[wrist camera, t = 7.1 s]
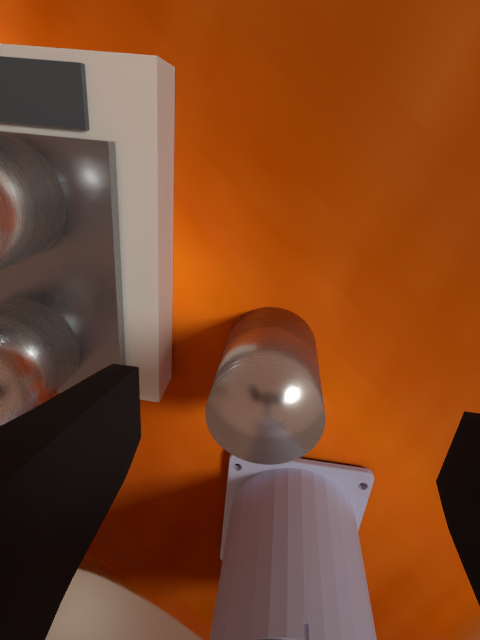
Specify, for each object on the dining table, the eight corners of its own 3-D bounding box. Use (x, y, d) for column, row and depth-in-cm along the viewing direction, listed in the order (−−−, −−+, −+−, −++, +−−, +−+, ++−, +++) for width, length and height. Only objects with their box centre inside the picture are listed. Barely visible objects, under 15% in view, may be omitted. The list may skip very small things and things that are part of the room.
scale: (171, 377, 21) (156, 406, 18) (-24, 350, 22) (-61, 375, 19) (174, 67, 15) (154, 53, 13) (-94, 46, 16) (-160, 29, 13)
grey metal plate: (127, 394, 19) (122, 402, 18) (-31, 372, 19) (-41, 379, 19) (115, 141, 14) (108, 141, 13) (-93, 121, 15) (-108, 121, 14)
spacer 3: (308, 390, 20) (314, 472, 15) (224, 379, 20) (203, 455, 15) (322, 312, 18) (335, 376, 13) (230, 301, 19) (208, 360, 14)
